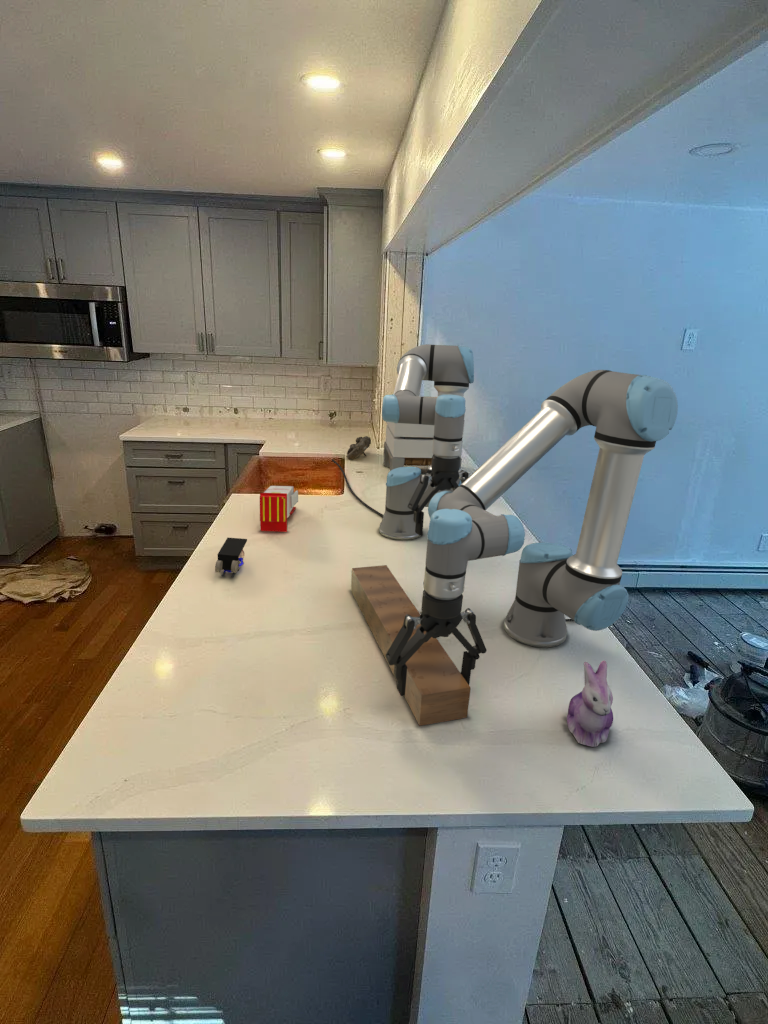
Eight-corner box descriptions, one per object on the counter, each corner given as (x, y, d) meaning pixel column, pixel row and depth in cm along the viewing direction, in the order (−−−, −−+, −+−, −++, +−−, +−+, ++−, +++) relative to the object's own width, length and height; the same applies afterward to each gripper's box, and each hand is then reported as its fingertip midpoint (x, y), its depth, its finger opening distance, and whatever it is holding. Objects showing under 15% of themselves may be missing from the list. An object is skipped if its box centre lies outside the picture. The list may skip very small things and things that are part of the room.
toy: (300, 481, 221) (289, 494, 192) (300, 514, 224) (289, 533, 194) (268, 480, 221) (253, 493, 191) (269, 514, 223) (254, 532, 194)
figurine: (591, 756, 102) (606, 687, 97) (551, 721, 111) (563, 655, 106) (628, 741, 107) (644, 673, 101) (587, 708, 115) (599, 644, 110)
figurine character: (238, 584, 162) (249, 557, 175) (236, 562, 158) (247, 536, 172) (215, 584, 161) (227, 556, 175) (212, 561, 158) (225, 535, 171)
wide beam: (351, 591, 158) (351, 568, 156) (385, 587, 161) (386, 564, 159) (419, 726, 108) (421, 695, 106) (467, 717, 111) (470, 687, 109)
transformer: (382, 463, 289) (386, 382, 275) (445, 464, 293) (451, 384, 279) (390, 482, 257) (394, 392, 243) (460, 483, 261) (468, 394, 247)
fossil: (346, 442, 311) (368, 427, 306) (357, 455, 314) (379, 440, 309) (340, 456, 291) (363, 440, 286) (351, 470, 294) (374, 454, 289)
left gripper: (411, 462, 140) (406, 541, 147) (493, 455, 151) (485, 529, 158) (397, 455, 146) (393, 531, 153) (477, 449, 157) (470, 520, 164)
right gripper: (385, 607, 99) (378, 708, 106) (512, 595, 106) (498, 690, 113) (373, 587, 105) (367, 683, 112) (494, 577, 113) (481, 668, 120)
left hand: (440, 530), depth 156 cm, fingers open, 13 cm apart
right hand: (433, 687), depth 113 cm, fingers open, 13 cm apart
